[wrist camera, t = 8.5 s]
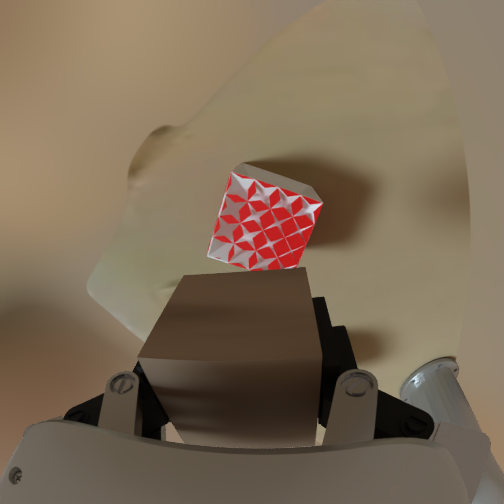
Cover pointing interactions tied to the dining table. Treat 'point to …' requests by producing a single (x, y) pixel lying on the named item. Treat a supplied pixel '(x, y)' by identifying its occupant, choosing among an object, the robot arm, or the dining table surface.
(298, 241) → the puzzle cube
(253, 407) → the walnut block
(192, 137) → the dining table surface
